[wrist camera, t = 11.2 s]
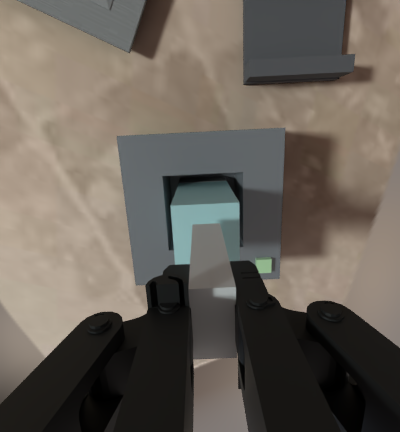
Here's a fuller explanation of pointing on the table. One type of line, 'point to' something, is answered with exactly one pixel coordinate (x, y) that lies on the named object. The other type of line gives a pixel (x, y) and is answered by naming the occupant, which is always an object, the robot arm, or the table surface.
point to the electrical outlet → (97, 17)
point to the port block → (203, 167)
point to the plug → (204, 214)
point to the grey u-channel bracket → (294, 41)
